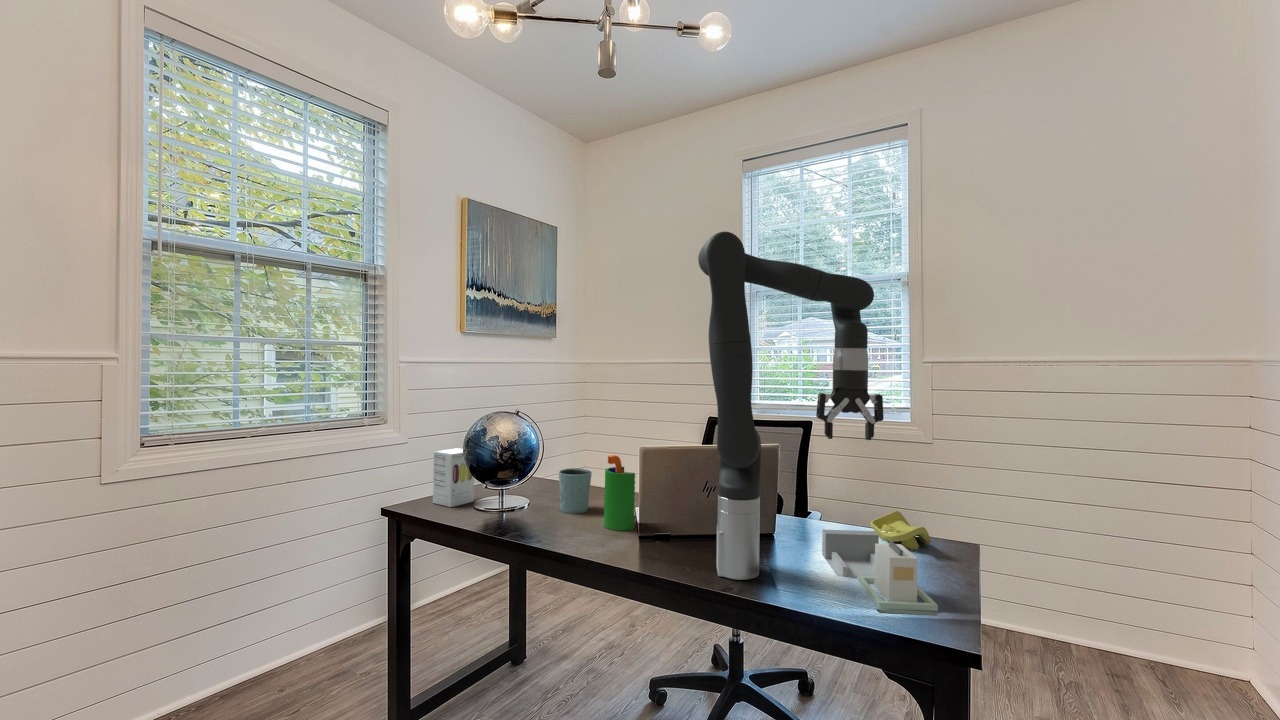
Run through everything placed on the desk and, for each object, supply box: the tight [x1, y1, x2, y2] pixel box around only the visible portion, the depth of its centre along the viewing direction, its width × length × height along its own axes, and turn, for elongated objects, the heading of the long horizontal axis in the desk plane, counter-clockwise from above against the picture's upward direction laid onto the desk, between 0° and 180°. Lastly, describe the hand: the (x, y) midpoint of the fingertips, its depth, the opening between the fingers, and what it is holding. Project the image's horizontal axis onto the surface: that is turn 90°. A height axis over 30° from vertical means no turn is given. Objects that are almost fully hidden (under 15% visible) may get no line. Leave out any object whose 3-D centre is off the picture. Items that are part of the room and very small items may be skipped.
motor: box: [603, 454, 636, 532], centre depth 156 cm, size 10×9×20 cm
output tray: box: [857, 576, 939, 617], centre depth 110 cm, size 11×13×2 cm
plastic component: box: [870, 510, 932, 550], centre depth 144 cm, size 20×7×10 cm
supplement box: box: [432, 447, 475, 508], centre depth 179 cm, size 10×9×17 cm
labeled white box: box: [874, 541, 919, 603], centre depth 110 cm, size 5×8×10 cm, turn 176°
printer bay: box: [821, 529, 880, 578], centre depth 125 cm, size 12×13×7 cm
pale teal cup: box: [558, 467, 593, 515], centre depth 172 cm, size 10×10×12 cm
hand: (848, 439), depth 126 cm, fingers open, 8 cm apart
